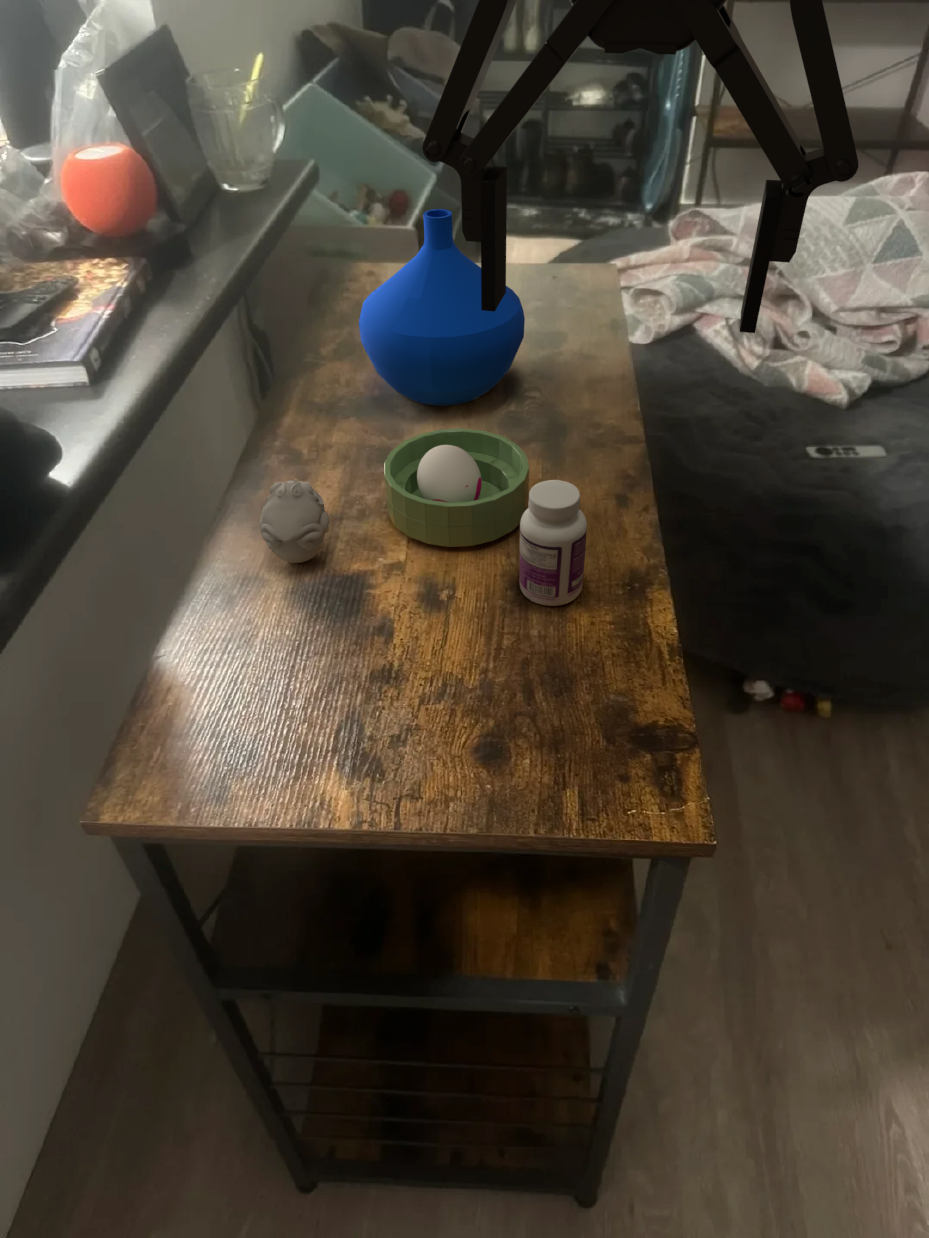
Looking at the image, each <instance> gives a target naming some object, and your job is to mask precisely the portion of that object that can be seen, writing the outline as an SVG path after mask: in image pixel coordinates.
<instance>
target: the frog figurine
mask: <svg viewBox="0 0 929 1238" xmlns="http://www.w3.org/2000/svg"><path fill="white" fill-rule="evenodd" d="M325 509H326V507H325V503H324V499H323V497H322V496H321V495H320V494H319V492H318V491H317V490H315V489H314V488H313V486H312V485H311V483H310V482H309V481H302V480H297V479H296V480H293V479H291V480H287V481H284V482H283V481H277V482H273V484H272V485H271V486H270V487H269V495H268V496H266V498H265V503H263V509H262V511H261V515H260V518H259V531H260V536H261V539H262V540H263V541H264V542H265V544H266V546H267V548H268V549H269V550H271V552H272V553H273V554H274V555H275V557H277V558H278V559H280V560H282V561H284V562H287V563H291V564H299V563H300V564H301V563H304V562H307V561H309V560H311V559H313V558H314V557H315V556H316V555H317V554H318V553H319V552H320V550H321V549H322V546H323V545H324V541H325V536H326V534H327V533H328V532H329V528H330V527H329V525H330V522H331V521H330V515H329V513H328V512H327V511H326V510H325Z"/></svg>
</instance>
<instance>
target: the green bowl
mask: <svg viewBox="0 0 929 1238" xmlns="http://www.w3.org/2000/svg"><path fill="white" fill-rule="evenodd" d="M440 445H452V446H456V447H459V448H461V449H463V450H464V451H466V452H467V453H468V454H469V455H470V456H471V457H472V458H473V459H474V461H475V462H476V464H477V466H478V468H479V471H480V474H481V481H482V485H481V492H480V495H479V497H478V499H479V500H475V501H471V502H453V503H448V502H440V501H432V500H427V499H424V498H423V497H422V495H421V493H420V490H419V487H418V483H417V471H418V466H419V463H420V461H421V459H422V458H423V456H424V455H425V454H426V453H427V452H428V451H429V450H431V449H432V448H434V447H437V446H440ZM529 464H530V463H529V459H528V456H527V454H526V453H525V452H524V450H523V449H522V448H521V447H520V446H519V445H518V444H517V443H516V442H514V441H513V440H510V439H509V438H507V437H505V436H504V435H500V434H497V433H494V432H490V431H488V430H482V429H473V428H463V427H462V428H461V427H459V428H442V429H437V430H436V429H435V430H432V431H428V432H423V433H419V434H418V435H416V436H413V437H411V438H408V439H406V440H404V441H402V442H401V443H400V444H398V445H397V446H396V447H395V448H393V449H392V450H391V451H390V452H389V454H388V456H387V458H386V459H385V460H384V463H383V478H384V488H385V498H386V510H387V515H388V517H389V519H390V521H391V523H392V524H393V525H394V527H395V528H397V530H399V531H400V532H401V533H403V534H404V535H406V536H407V537H408V538H411V539H413V540H416V541H419V542H422V543H423V544H424V543H425V544H428V545H432V546H438V547H439V546H441V547H447V548H455V547H473V546H478V545H481V544H485V543H490V542H494V541H496V540H498V539H500V538H502V537H504V536H505V535H507V534H509V533H511V532H513V531H514V530H515V529H516V528H517V527H518V526H520V521H521V517H522V515H523V513H524V512H525V511H526V510H527V509H528V508H529V507H528V503H529V492H530V489H529V488H530V487H529V486H530V465H529Z"/></svg>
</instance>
